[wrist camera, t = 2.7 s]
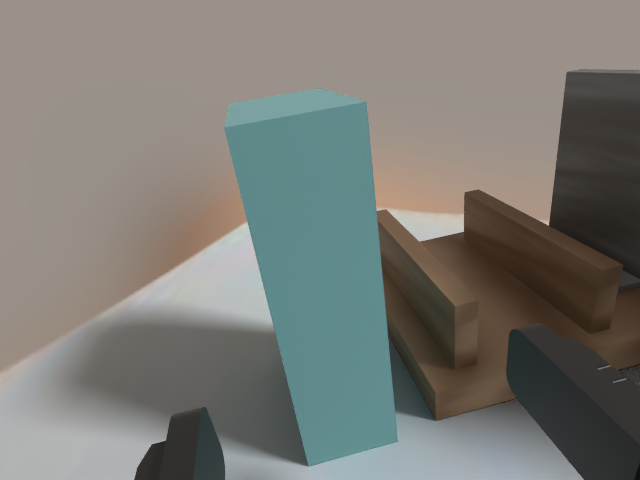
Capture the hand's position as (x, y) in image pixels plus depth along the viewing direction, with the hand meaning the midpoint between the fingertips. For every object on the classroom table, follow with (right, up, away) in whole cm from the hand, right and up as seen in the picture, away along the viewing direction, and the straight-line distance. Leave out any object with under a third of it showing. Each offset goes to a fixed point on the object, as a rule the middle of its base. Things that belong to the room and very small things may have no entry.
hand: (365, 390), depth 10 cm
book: (0, -5, +12) cm, 13 cm away
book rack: (+11, -1, +17) cm, 21 cm away
